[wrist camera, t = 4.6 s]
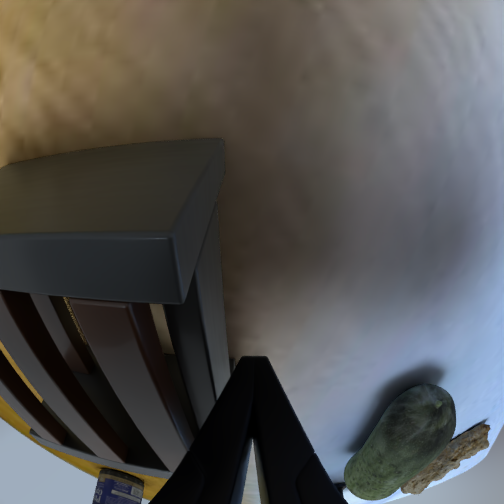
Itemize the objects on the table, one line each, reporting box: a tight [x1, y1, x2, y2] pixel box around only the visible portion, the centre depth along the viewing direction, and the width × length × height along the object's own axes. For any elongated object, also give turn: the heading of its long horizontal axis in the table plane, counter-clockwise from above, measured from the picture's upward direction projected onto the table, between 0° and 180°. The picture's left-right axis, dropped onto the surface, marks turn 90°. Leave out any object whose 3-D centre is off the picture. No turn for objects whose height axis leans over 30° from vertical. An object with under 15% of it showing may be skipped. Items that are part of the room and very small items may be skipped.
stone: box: [400, 424, 490, 494], centre depth 23 cm, size 14×7×5 cm, turn 153°
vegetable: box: [344, 384, 456, 500], centre depth 16 cm, size 14×5×5 cm
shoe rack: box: [0, 138, 235, 479], centre depth 9 cm, size 9×11×6 cm
